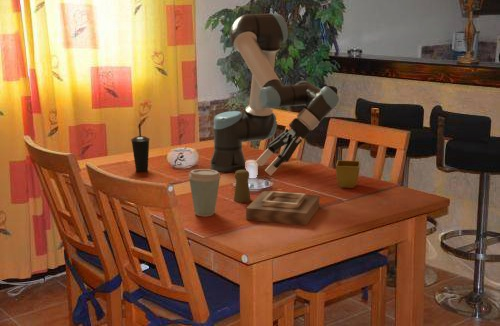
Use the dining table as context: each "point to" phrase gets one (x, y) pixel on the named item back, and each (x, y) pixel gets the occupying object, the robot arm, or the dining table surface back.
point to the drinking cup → (140, 152)
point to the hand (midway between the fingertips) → (262, 168)
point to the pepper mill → (242, 186)
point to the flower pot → (347, 173)
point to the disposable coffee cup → (204, 190)
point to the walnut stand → (283, 207)
